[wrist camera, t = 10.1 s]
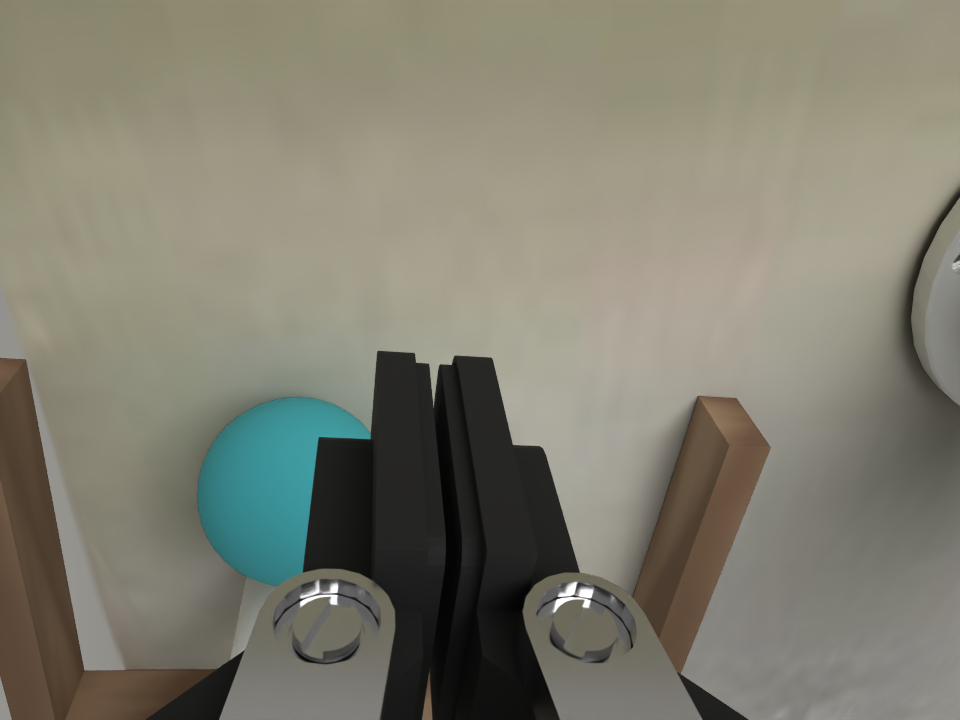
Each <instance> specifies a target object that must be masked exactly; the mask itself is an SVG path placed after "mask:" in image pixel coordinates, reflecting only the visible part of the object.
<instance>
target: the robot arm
mask: <svg viewBox="0 0 960 720" xmlns="http://www.w3.org/2000/svg"><path fill="white" fill-rule="evenodd" d="M911 324H912V332H913V341H914V347H915V349H916V352H917V354H918V357H919V359H920V362H921V364H922V367H923V369H924V370H925V371H926V373H927V374H928V375H929V377H930V378H931V379H932V380H933V382H934V383H935V384H936V386H937V387H938V388H939V389H941V390H942V391H943V392H944V393H945V394H946V395H947V396H948V397H950V398H951V399H952V400H953V401H954V402H955V403H957V404H958V405H959V406H960V198H959V199H958V201H957V202H956V204H955V205H954V207H953V208H952V209H951V211H950V212H949V214H948V215H947V217H946V218H945V219H944V221H943V222H942V224H941V225H940V227H939V229H938V231H937V233H936V235H935V237H934V239H933V241H932V243H931V245H930V247H929V249H928V251H927V253H926V255H925V257H924V260H923V263H922V266H921V270H920V273H919V276H918V279H917V283H916V286H915V289H914V297H913V306H912V315H911ZM429 672H430V689H431V706H432V720H748V719H747V718H745V717H744V716H742V715H741V714H739V713H738V712H736V711H735V710H733V709H732V708H730V707H729V706H727V705H726V704H724V703H723V702H721V701H720V700H718V699H717V698H715V697H714V696H712V695H711V694H709V693H708V692H706V691H705V690H703V689H702V688H700V687H699V686H697V685H696V684H694V683H693V682H691V681H690V680H688V679H687V678H685V677H684V676H683V675H681V674H680V673H678V672H677V671H676V670H675V668H674V666H673V665H672V663H671V661H670V659H669V657H668V655H667V653H666V652H665V650H664V648H663V646H662V644H661V642H660V641H659V639H658V637H657V635H656V633H655V631H654V630H653V628H652V626H651V624H650V622H649V620H648V618H647V617H646V615H645V613H644V612H643V610H642V609H641V608H640V606H639V605H638V604H637V602H636V601H635V600H634V598H632V597H631V596H630V595H629V594H628V593H626V592H625V591H624V590H623V589H621V588H620V587H619V586H617V585H615V584H613V583H611V582H609V581H607V580H605V579H603V578H601V577H597V576H593V575H589V574H585V573H580V571H579V568H578V565H577V561H576V558H575V554H574V551H573V547H572V544H571V540H570V537H569V533H568V530H567V527H566V523H565V520H564V516H563V513H562V509H561V506H560V502H559V499H558V495H557V492H556V488H555V485H554V482H553V478H552V475H551V471H550V468H549V464H548V461H547V457H546V454H545V452H544V450H543V448H541V447H540V446H520V445H513V444H512V439H511V435H510V431H509V427H508V422H507V418H506V414H505V410H504V405H503V401H502V397H501V393H500V388H499V384H498V380H497V376H496V371H495V367H494V363H493V360H492V358H487V357H470V356H454V359H453V362H452V365H442V364H440V366H439V370H438V377H437V385H436V393H435V401H434V409H433V399H432V389H431V378H430V368H429V364H425V363H416V359H415V353H404V352H388V351H378V352H377V361H376V374H375V387H374V400H373V413H372V426H371V439H355V438H332V437H319V439H318V445H317V454H316V462H315V470H314V479H313V487H312V496H311V504H310V513H309V521H308V530H307V538H306V547H305V555H304V564H303V572H302V573H300V574H298V575H296V576H294V577H292V578H290V579H288V580H286V581H284V582H282V583H281V584H280V585H279V586H278V587H277V588H276V589H275V590H273V591H272V592H271V593H270V594H269V595H268V597H267V598H266V600H265V602H264V604H263V605H262V607H261V609H260V610H259V613H258V616H257V618H256V621H255V624H254V627H253V629H252V632H251V635H250V637H249V640H248V643H247V646H246V648H245V650H244V651H242V652H241V653H240V654H238V655H237V656H235V657H234V658H232V659H231V660H230V661H228V662H227V663H225V664H224V665H222V666H221V667H220V668H218V669H217V670H215V671H214V672H212V673H211V674H210V675H208V676H207V677H205V678H204V679H203V680H201V681H200V682H198V683H197V684H195V685H194V686H193V687H191V688H190V689H188V690H187V691H185V692H184V693H183V694H181V695H180V696H178V697H177V698H175V699H174V700H173V701H171V702H170V703H168V704H167V705H165V706H164V707H163V708H161V709H160V710H158V711H157V712H155V713H154V714H153V715H151V716H150V717H148V718H147V719H146V720H422V716H423V710H424V703H425V696H426V690H427V683H428V677H429Z"/></svg>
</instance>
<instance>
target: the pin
mask: <svg viewBox="0 0 960 720" xmlns="http://www.w3.org/2000/svg"><path fill="white" fill-rule="evenodd" d="M277 587H278V586H274V585H269V584H265V583H261V582H258V581H255V580H253V579H251V578H248V577H246V581H245V586H244V591H243V596H242V601H241V606H240V611H239V616H238V621H237V626H236V631H235V636H234V641H233V646H232V651H231V656H230V660H231V659H232V658H234V657H235V656H237V655H238V654H240V653H241V652H242V651H244V650H245V648H246V646H247V643H248V640H249V637H250V635H251V632H252V629H253V627H254V624H255V621H256V618H257V616H258V613H259V610H260V609H261V607H262V605H263V604H264V602H265V600H266V598H267V597H268V595H269V594H270V593H271V592H272V591H273V590H275V589H276V588H277Z"/></svg>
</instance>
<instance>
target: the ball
mask: <svg viewBox="0 0 960 720" xmlns="http://www.w3.org/2000/svg"><path fill="white" fill-rule="evenodd" d="M319 437H332V438H355V439H371V433H370V431H369V430H368V429H367V428H366V427H365V426H364V425H363V424H362V423H361V422H360V421H359V420H358V419H357V418H355V417H354V416H353V415H352V414H350V413H349V412H347V411H345V410H344V409H342V408H340V407H338V406H336V405H334V404H331V403H329V402H325V401H321V400H317V399H313V398H303V397H293V398H282V399H277V400H272V401H269V402H266V403H263V404H260V405H258V406H256V407H254V408H251V409H249V410H248V411H246V412H245V413H243V414H242V415H240V416H238V417H237V418H236V419H235V420H234V421H232V422H231V423H230V424H229V425H228V426H227V427H226V428H225V429H224V430H223V431H222V432H221V433H220V434H219V436H218V437H217V438H216V440H215V441H214V443H213V444H212V446H211V448H210V450H209V451H208V453H207V455H206V457H205V460H204V463H203V465H202V468H201V471H200V476H199V481H198V492H197V499H198V511H199V515H200V519H201V523H202V526H203V528H204V531H205V533H206V536H207V538H208V539H209V541H210V543H211V544H212V546H213V548H214V549H215V550H216V552H217V553H218V554H219V555H220V556H221V557H222V559H223V560H224V561H225V562H226V563H227V564H229V565H230V566H231V567H233V568H234V569H235V570H237V571H238V572H239V573H241V574H243V575H244V576H246V577H248V578H251V579H253V580H255V581H258V582H261V583H265V584H269V585H274V586H279V585H280V584H281V583H282V582H284V581H286V580H288V579H290V578H292V577H294V576H296V575H298V574H300V573H302V572H303V564H304V555H305V547H306V538H307V530H308V521H309V513H310V504H311V496H312V487H313V479H314V470H315V462H316V454H317V445H318V439H319Z"/></svg>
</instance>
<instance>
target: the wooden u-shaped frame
mask: <svg viewBox="0 0 960 720" xmlns="http://www.w3.org/2000/svg"><path fill="white" fill-rule="evenodd" d="M770 448H771V447H770V446H769V444H768V443H767V441H766V440H765V438H764V437H763V436H762V434H761V433H760V431H759V430H758V428H757V427H756V426H755V424H754V423H753V421H752V420H751V418H750V417H749V415H748V414H747V413H746V411H745V410H744V408H743V407H742V405H741V404H740V403H739V401H738V400H737V398H722V397H703V396H698V399H697V403H696V406H695V409H694V412H693V415H692V418H691V421H690V424H689V427H688V430H687V433H686V436H685V439H684V442H683V445H682V448H681V451H680V454H679V458H678V461H677V464H676V467H675V470H674V473H673V476H672V479H671V482H670V485H669V488H668V491H667V494H666V497H665V500H664V503H663V506H662V509H661V513H660V516H659V519H658V522H657V525H656V528H655V531H654V534H653V537H652V540H651V543H650V546H649V549H648V552H647V555H646V558H645V561H644V564H643V568H642V571H641V574H640V577H639V580H638V583H637V586H636V589H635V592H634V595H633V598H634V600H635V601H636V602H637V604H638V605H639V606H640V608H641V609H642V610H643V612H644V613H645V615H646V617H647V618H648V620H649V622H650V624H651V626H652V628H653V630H654V631H655V633H656V635H657V637H658V639H659V641H660V642H661V644H662V646H663V648H664V650H665V652H666V653H667V655H668V657H669V659H670V661H671V663H672V665H673V666H674V668H675V670H676V671H677V672H678V673H680V674H681V671H682V669H683V666H684V664H685V661H686V659H687V656H688V654H689V651H690V649H691V646H692V644H693V641H694V639H695V636H696V634H697V631H698V629H699V626H700V624H701V621H702V619H703V616H704V614H705V611H706V609H707V606H708V604H709V601H710V599H711V596H712V594H713V591H714V589H715V586H716V584H717V581H718V579H719V576H720V574H721V571H722V569H723V566H724V564H725V561H726V559H727V556H728V554H729V551H730V549H731V546H732V544H733V541H734V539H735V536H736V534H737V531H738V529H739V526H740V524H741V521H742V519H743V516H744V514H745V511H746V509H747V506H748V504H749V501H750V498H751V496H752V493H753V491H754V488H755V486H756V483H757V481H758V478H759V476H760V473H761V471H762V468H763V466H764V463H765V461H766V458H767V456H768V453H769V451H770ZM214 671H215V670H119V671H118V670H116V671H114V670H113V671H84V667H83V661H82V656H81V651H80V646H79V640H78V635H77V629H76V624H75V619H74V613H73V608H72V603H71V598H70V593H69V587H68V582H67V576H66V571H65V566H64V561H63V555H62V550H61V544H60V539H59V533H58V528H57V523H56V517H55V512H54V507H53V501H52V496H51V491H50V486H49V480H48V475H47V469H46V465H45V459H44V454H43V448H42V443H41V437H40V432H39V427H38V422H37V416H36V411H35V405H34V400H33V395H32V389H31V384H30V379H29V373H28V368H27V363H26V360H25V359H7V358H5V359H4V358H0V677H1V681H2V684H3V688H4V692H5V695H6V699H7V703H8V706H9V710H10V714H11V717H12V720H146V719H147V718H148V717H150V716H151V715H153V714H154V713H155V712H157V711H158V710H160V709H161V708H163V707H164V706H165V705H167V704H168V703H170V702H171V701H173V700H174V699H175V698H177V697H178V696H180V695H181V694H183V693H184V692H185V691H187V690H188V689H190V688H191V687H193V686H194V685H195V684H197V683H198V682H200V681H201V680H203V679H204V678H205V677H207V676H208V675H210V674H211V673H212V672H214ZM422 720H432V706H431V689H430V672H429V677H428V683H427V690H426V696H425V703H424V710H423V716H422Z"/></svg>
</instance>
